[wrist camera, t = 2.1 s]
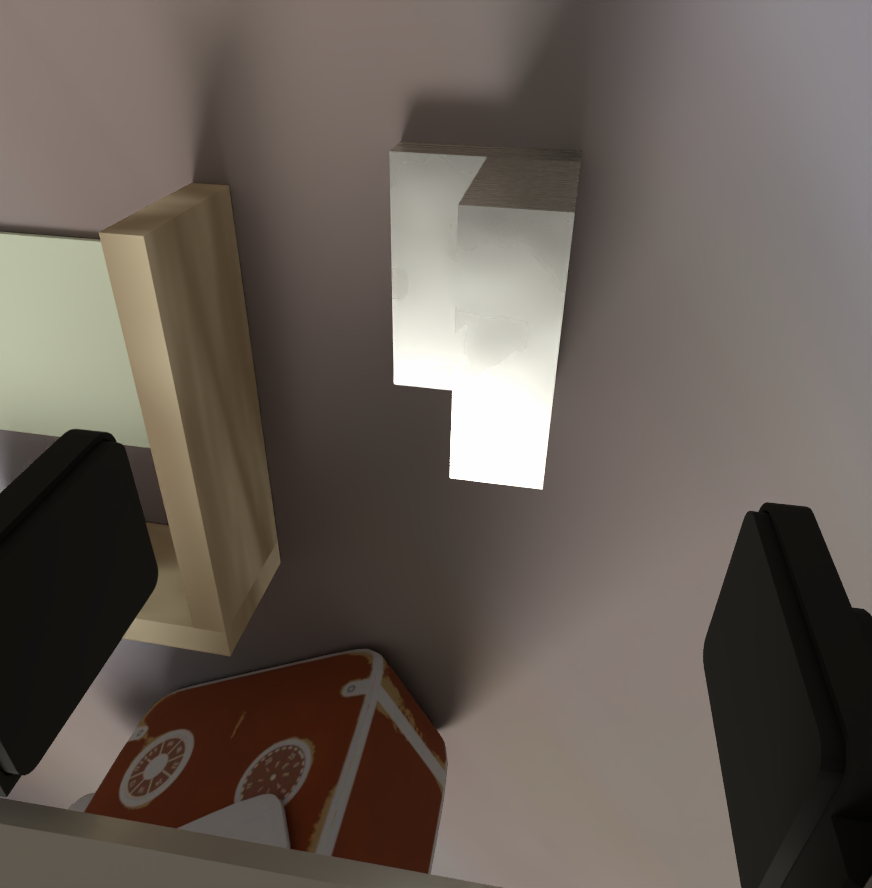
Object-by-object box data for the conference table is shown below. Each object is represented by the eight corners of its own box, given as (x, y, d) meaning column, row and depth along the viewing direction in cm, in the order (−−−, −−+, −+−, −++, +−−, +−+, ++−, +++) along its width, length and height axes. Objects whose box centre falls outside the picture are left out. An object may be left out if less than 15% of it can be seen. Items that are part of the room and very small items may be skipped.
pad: (129, 241, 24) (126, 243, 24) (174, 447, 28) (172, 451, 28) (-114, 222, 25) (-118, 224, 25) (-34, 422, 29) (-38, 424, 29)
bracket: (582, 150, 20) (575, 212, 15) (555, 379, 24) (542, 489, 19) (401, 140, 21) (337, 196, 16) (403, 364, 24) (353, 465, 19)
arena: (229, 185, 22) (143, 236, 18) (280, 562, 30) (230, 656, 26) (-124, 161, 24) (-275, 203, 20) (16, 524, 32) (-70, 606, 28)
